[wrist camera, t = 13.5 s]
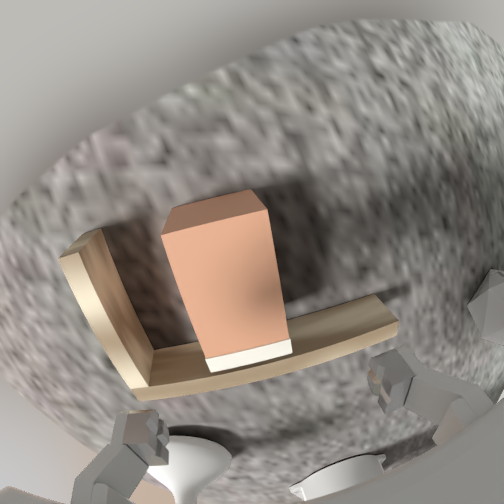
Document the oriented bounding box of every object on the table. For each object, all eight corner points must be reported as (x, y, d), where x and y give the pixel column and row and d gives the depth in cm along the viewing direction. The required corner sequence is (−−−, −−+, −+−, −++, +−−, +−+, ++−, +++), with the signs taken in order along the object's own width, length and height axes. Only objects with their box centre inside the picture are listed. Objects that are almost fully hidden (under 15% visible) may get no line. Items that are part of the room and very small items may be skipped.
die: (506, 256, 26) (544, 262, 17) (514, 320, 25) (549, 341, 16) (455, 277, 29) (484, 290, 20) (465, 342, 28) (491, 372, 19)
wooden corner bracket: (373, 307, 23) (396, 335, 19) (144, 365, 22) (139, 401, 18) (371, 166, 18) (405, 176, 14) (82, 234, 17) (58, 258, 13)
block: (251, 188, 18) (268, 209, 13) (274, 307, 21) (292, 352, 17) (171, 208, 17) (159, 236, 13) (207, 323, 21) (210, 372, 16)
